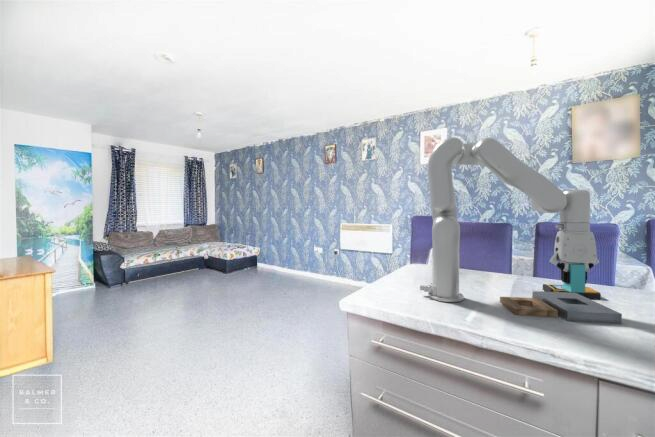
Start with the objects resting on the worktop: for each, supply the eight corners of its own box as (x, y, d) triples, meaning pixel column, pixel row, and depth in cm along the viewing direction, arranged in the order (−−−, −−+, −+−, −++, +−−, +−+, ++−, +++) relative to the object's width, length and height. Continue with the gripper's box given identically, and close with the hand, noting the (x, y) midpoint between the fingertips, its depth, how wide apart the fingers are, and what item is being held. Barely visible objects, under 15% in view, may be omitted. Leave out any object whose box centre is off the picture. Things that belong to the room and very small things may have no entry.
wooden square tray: (515, 314, 91) (515, 308, 91) (499, 302, 103) (499, 296, 103) (557, 316, 89) (557, 310, 89) (536, 303, 101) (536, 298, 101)
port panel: (567, 321, 86) (567, 311, 86) (532, 299, 105) (532, 291, 105) (621, 323, 83) (621, 313, 83) (575, 300, 103) (575, 292, 103)
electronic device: (602, 301, 104) (602, 292, 103) (550, 297, 109) (551, 288, 108) (589, 294, 112) (589, 285, 111) (542, 290, 117) (542, 282, 116)
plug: (570, 292, 92) (571, 264, 92) (563, 288, 96) (563, 262, 96) (585, 292, 91) (585, 264, 91) (576, 288, 95) (576, 262, 95)
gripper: (552, 229, 91) (552, 285, 92) (613, 228, 88) (612, 286, 89) (539, 227, 98) (539, 279, 99) (595, 226, 95) (594, 280, 96)
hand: (573, 282), depth 94 cm, fingers closed on plug, 4 cm apart
